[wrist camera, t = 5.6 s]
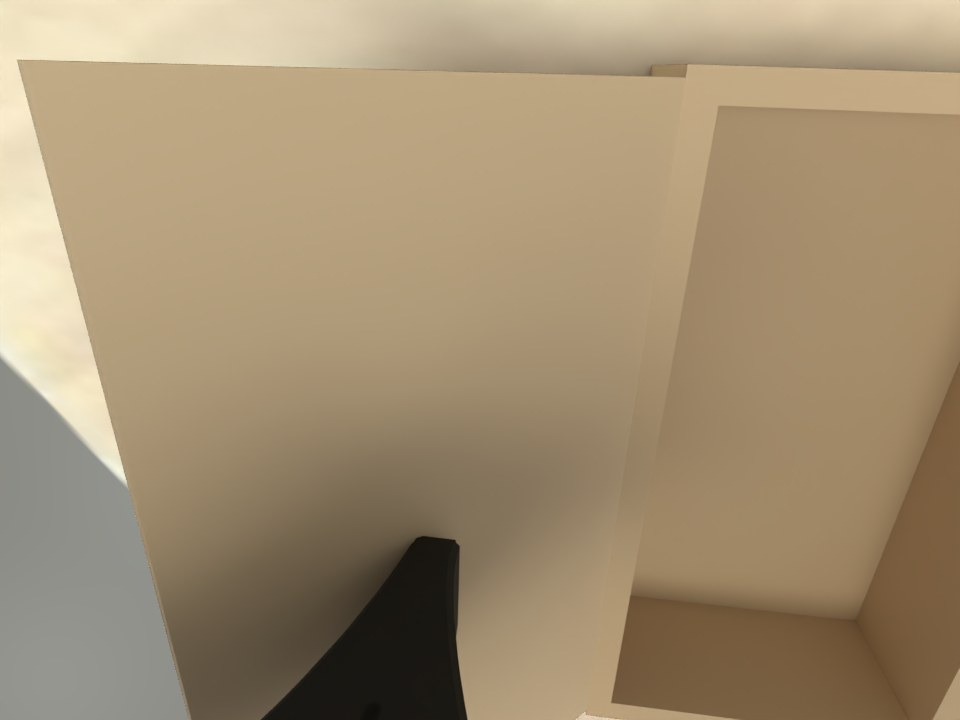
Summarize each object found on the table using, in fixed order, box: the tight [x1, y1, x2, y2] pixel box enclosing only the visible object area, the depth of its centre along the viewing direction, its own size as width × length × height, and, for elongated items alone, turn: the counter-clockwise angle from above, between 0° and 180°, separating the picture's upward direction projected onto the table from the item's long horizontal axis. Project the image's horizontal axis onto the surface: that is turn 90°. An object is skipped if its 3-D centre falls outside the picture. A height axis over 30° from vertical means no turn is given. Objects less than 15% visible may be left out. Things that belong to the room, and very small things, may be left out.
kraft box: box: [586, 64, 960, 720], centre depth 15 cm, size 16×9×4 cm, turn 178°
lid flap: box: [17, 60, 685, 720], centre depth 11 cm, size 16×9×1 cm
